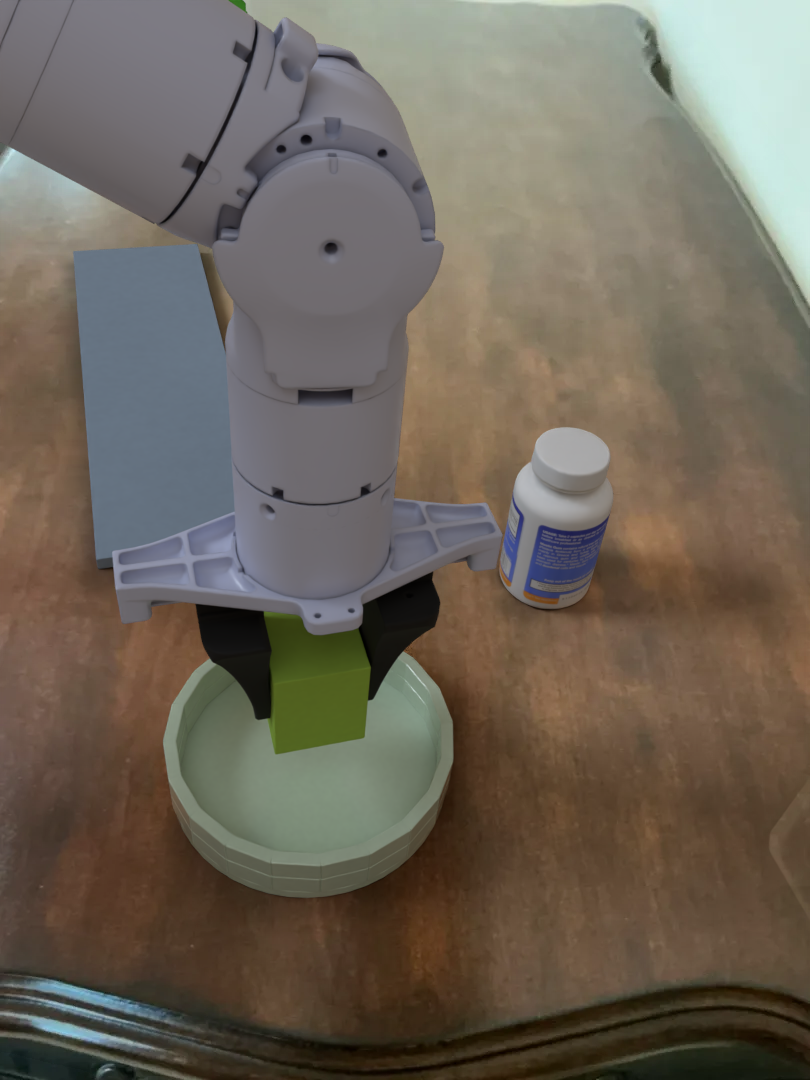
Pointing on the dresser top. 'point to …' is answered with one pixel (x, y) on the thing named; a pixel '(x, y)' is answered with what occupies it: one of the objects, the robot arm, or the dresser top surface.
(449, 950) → the dresser top surface
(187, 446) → the mat
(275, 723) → the cube
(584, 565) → the pill bottle
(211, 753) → the basin
